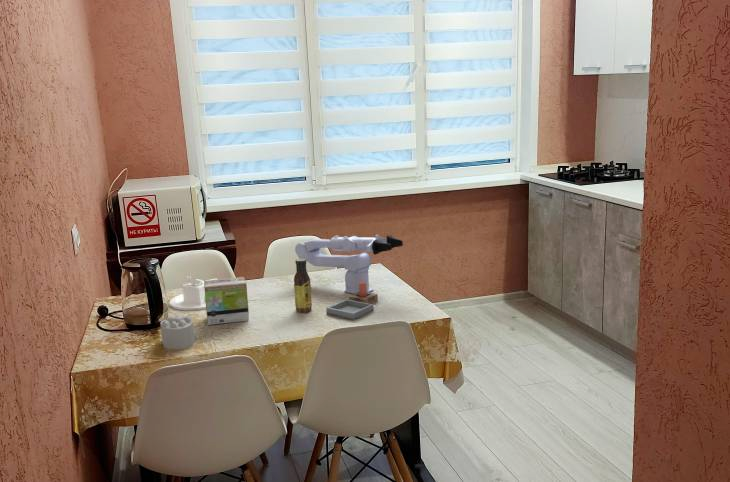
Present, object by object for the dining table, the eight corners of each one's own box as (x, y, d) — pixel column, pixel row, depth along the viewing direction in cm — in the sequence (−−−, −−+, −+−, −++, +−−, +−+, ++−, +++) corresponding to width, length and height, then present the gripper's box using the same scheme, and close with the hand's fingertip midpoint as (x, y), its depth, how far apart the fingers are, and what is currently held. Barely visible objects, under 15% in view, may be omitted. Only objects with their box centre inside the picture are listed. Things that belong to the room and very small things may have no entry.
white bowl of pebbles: (191, 334, 229) (188, 310, 228) (198, 346, 218) (196, 321, 216) (160, 340, 225) (157, 316, 223) (166, 352, 214) (163, 327, 212)
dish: (196, 315, 251) (193, 286, 248) (157, 305, 266) (154, 278, 263) (244, 297, 270) (242, 271, 267) (205, 289, 285) (202, 264, 282)
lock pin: (358, 303, 255) (357, 283, 253) (362, 301, 257) (361, 281, 256) (364, 304, 253) (363, 284, 252) (368, 302, 256) (367, 282, 254)
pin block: (349, 303, 255) (348, 296, 254) (361, 298, 261) (361, 291, 260) (365, 307, 250) (364, 299, 249) (377, 301, 256) (377, 294, 255)
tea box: (208, 326, 237) (204, 287, 233) (207, 317, 246) (203, 280, 243) (249, 321, 240) (246, 282, 237) (247, 312, 250) (243, 275, 247)
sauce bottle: (309, 313, 245) (306, 262, 241) (293, 313, 247) (289, 262, 242) (314, 307, 252) (311, 257, 247) (298, 307, 253) (295, 257, 249)
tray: (326, 314, 244) (326, 307, 243) (346, 305, 253) (346, 299, 252) (353, 320, 236) (353, 313, 235) (373, 310, 245) (373, 304, 245)
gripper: (356, 238, 256) (384, 238, 247) (378, 231, 267) (405, 231, 259) (358, 255, 257) (386, 256, 249) (380, 248, 268) (407, 248, 260)
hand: (396, 245), depth 254 cm, fingers open, 7 cm apart
